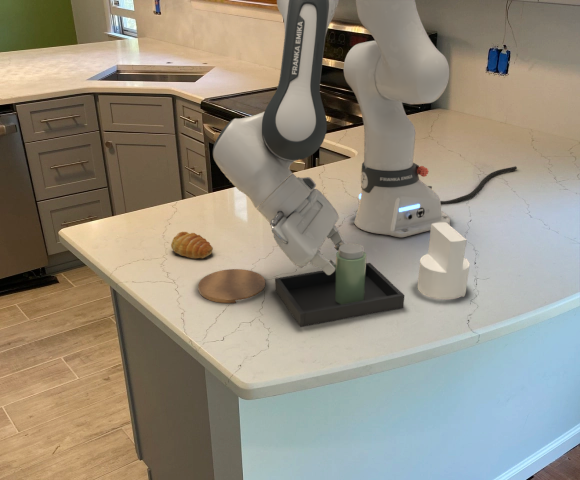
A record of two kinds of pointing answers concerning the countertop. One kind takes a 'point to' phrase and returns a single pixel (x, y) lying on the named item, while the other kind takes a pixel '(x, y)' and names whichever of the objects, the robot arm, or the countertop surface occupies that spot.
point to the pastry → (191, 245)
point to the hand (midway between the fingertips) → (339, 260)
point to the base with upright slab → (444, 264)
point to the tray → (321, 297)
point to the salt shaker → (350, 273)
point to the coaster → (231, 285)
